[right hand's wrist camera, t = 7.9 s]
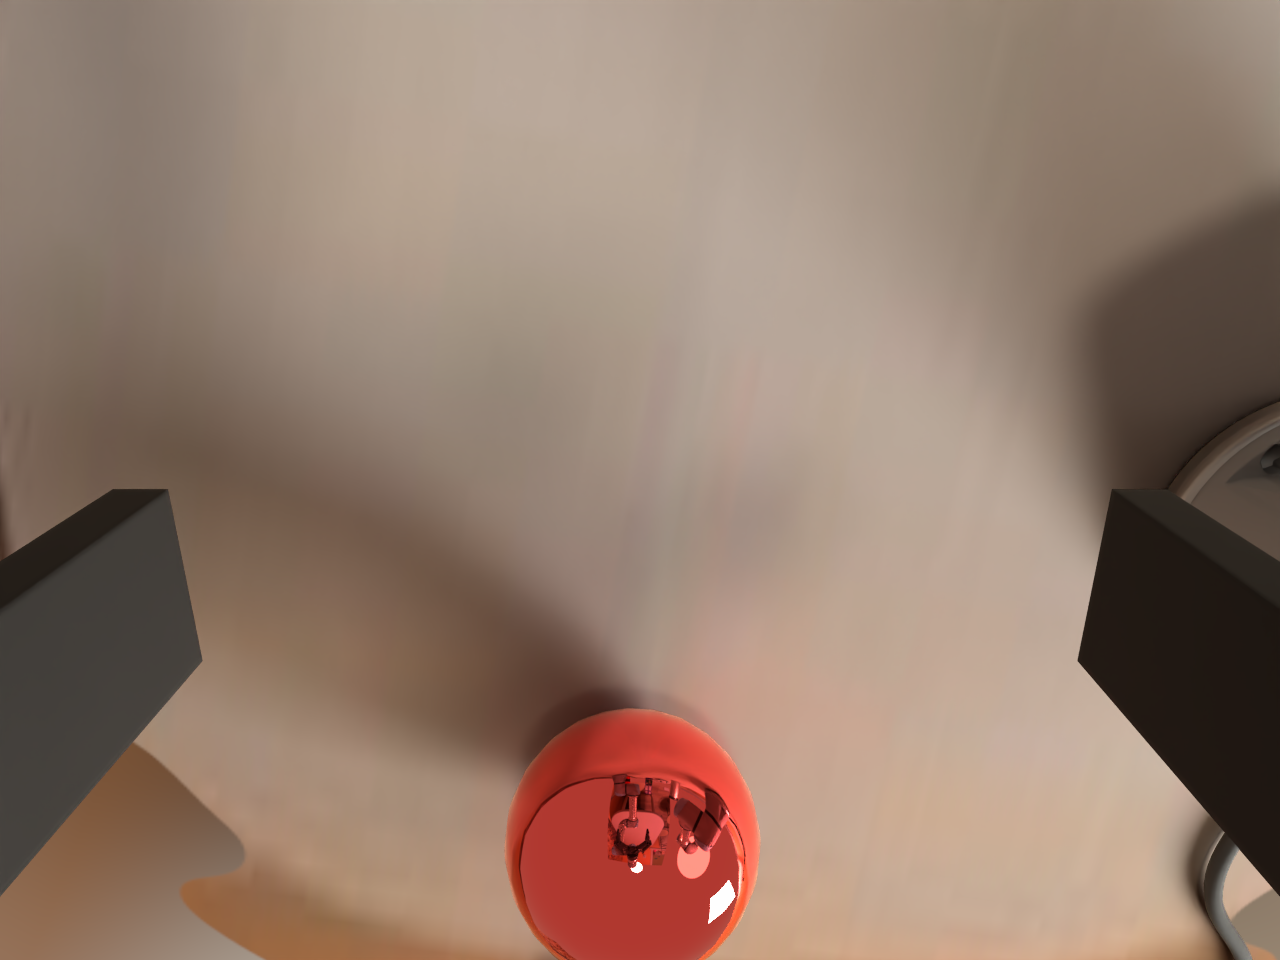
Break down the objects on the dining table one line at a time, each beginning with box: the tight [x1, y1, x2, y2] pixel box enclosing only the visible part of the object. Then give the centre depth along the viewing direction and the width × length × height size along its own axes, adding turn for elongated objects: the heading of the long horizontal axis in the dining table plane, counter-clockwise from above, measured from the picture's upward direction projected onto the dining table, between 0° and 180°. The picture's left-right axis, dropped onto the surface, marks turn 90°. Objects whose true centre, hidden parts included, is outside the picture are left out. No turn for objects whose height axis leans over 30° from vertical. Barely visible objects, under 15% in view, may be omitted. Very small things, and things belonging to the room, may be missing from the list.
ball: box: [504, 708, 760, 960], centre depth 42 cm, size 12×12×12 cm
